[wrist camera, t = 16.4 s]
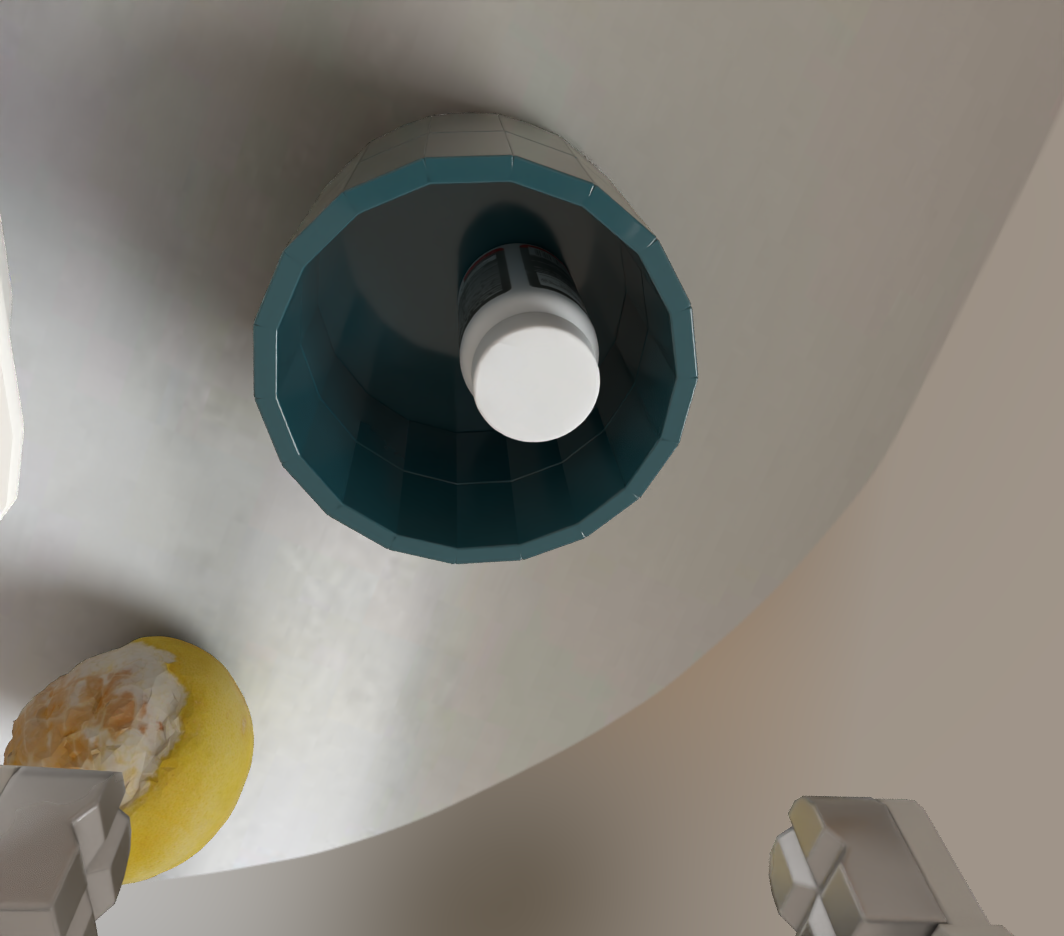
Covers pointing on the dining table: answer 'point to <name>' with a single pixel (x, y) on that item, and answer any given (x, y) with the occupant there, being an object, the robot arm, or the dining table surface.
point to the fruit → (148, 742)
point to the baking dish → (8, 396)
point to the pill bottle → (527, 344)
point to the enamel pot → (433, 344)
